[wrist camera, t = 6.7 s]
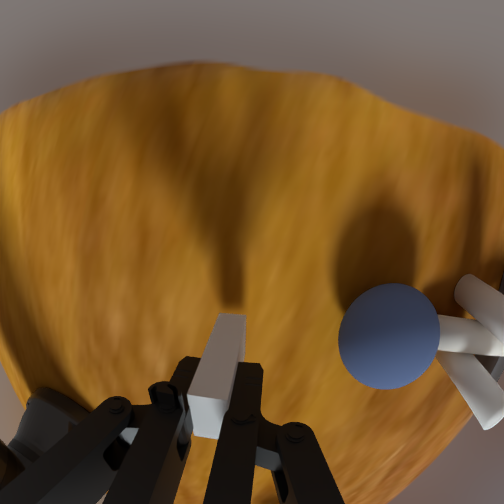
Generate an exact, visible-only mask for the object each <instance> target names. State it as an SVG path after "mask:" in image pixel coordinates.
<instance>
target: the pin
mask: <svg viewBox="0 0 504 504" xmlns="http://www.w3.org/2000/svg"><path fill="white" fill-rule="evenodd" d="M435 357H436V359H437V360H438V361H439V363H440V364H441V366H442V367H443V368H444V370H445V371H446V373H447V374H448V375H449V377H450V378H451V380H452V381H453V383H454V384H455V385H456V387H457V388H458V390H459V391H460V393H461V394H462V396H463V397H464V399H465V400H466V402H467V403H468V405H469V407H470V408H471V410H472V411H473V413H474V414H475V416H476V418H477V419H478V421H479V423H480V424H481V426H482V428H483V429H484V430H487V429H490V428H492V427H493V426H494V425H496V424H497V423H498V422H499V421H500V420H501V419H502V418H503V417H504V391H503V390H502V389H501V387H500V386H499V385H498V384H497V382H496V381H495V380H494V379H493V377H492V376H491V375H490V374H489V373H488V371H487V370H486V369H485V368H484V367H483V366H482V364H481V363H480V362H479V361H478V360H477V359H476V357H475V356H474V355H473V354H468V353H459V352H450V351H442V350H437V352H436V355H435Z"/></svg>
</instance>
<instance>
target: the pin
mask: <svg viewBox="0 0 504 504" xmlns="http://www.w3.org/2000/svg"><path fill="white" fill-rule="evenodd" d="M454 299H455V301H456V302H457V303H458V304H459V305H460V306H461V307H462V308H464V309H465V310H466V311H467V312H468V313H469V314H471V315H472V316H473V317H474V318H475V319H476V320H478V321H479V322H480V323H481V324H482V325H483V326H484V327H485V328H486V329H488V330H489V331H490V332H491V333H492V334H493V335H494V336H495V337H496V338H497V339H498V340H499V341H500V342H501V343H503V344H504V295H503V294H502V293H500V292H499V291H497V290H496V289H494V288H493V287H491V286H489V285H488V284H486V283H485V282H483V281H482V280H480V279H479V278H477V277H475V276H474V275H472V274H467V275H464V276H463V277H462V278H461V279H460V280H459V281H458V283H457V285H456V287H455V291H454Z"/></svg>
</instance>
